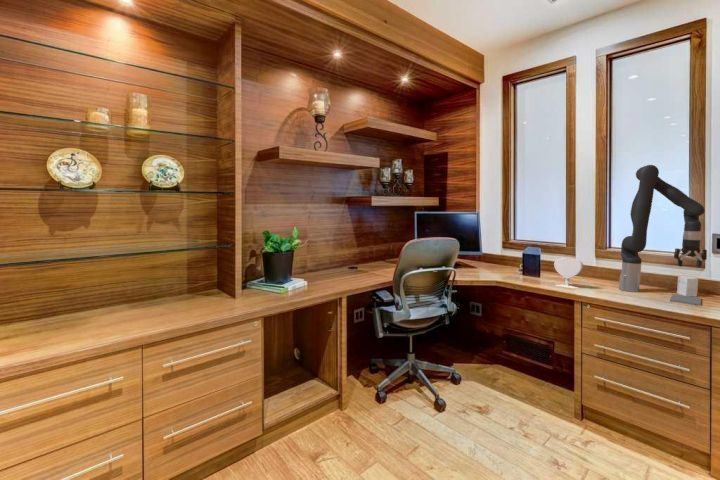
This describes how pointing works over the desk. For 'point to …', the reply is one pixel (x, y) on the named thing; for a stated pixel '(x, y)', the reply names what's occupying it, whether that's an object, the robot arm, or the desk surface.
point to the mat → (686, 299)
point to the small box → (687, 286)
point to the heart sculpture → (568, 269)
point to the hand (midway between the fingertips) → (689, 266)
